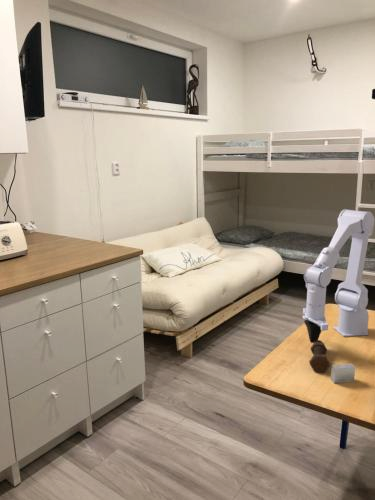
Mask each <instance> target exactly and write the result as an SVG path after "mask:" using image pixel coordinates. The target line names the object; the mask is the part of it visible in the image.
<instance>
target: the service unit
mask: <svg viewBox="0 0 375 500" xmlns="http://www.w3.org/2000/svg"><path fill="white" fill-rule="evenodd" d="M355 372H356V366H355V365H354V364H353V363H342V364H332V365H331V369H330V381H331V382H332V383H333V384H341V383H342V384H344V383H352V382H353V383H354V382H355V375H356V373H355Z"/></svg>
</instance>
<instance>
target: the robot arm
mask: <svg viewBox="0 0 375 500" xmlns="http://www.w3.org/2000/svg"><path fill="white" fill-rule="evenodd" d="M374 224H375V217H374V215H373V213H372V212H371V211H361V210H353V209H348V208H347V209H346V208H344V209H343V210H341V212H340V213H339V215H338V217H337V229H336V230H335V233H334V234H333V236H332V238H331V240H330V243H329V244H328V246H327V247H324V248H323V249H322V250H321V251H320V253H319V255H318V256H317V258H316V260H315V262H314V263H313V265H311V266H309V267H307V269H306V270H305V272H304V274H303V279H304V282H305V288H306V290H307V291H306V305H305V306H306V307H303V308H302V314H303V315H302V317H301V318H302V319H303V321H304V324H305V327H306V330H307V333H308V334H307V335H308V339H309V342H310V343H311V344H313V343H314V342H315V340H319V338H320V336H321V333H322V331H324V332H325V331H329V324H328V323H327V319H326V316H325V311H326V298H327V295H326V294H327V286H329V284H330V283H331V280H332V275H333V269H334V268H335V265H336V264H337V262H338V260H339V259H340V258H341V257H340V253H339V252H340V250H341V249H342V248H343V246H344V245H345V243H346V242H347V241H348V239H349V238H350V236H351V245H350V251H349V257H348V264H347V269H346V270H347V271H346V275H345V281H342V282H340V283H339V284H338V285H337V289H336V292H335V293H334V301H335V303H336V304H337V307H338V308H339V312H338V323H337V324H338V325H334V326H332V327H333V329H334V330H335V331H337V332H338V333H339V334H340V335H341V336H343V337H353V336H355V337H357V336H366V335H367V336H368V335H369V332H368V331H369V330H368V329H369V318H370V317H369V312H368V310H367V309H366V308H367V306H368V303H369V298H368V297H369V296H368V293H369V290H368V288H366V286H365V285H364V284H363V283H362V281H363V280H362V279H363V273H364V268H365V263H366V262H365V261H366V255H367V250H368V243H369V239H370V237H371V236H372V235H373V231H374V227H375V225H374Z"/></svg>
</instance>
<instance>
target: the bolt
mask: <svg viewBox="0 0 375 500" xmlns="http://www.w3.org/2000/svg"><path fill="white" fill-rule="evenodd" d="M310 351H311V353H312V354H313V356H312V357H311V358H310V359H309V365H310V367H311V369H312V370H313V372H316V373H326V371H328V369H329V368H330V366H331V363H330V361H329V360H328V358H327V356H326V353H327V352H328V349H327V347H326V345H325V343H324V342H323V341H321V340H319V339H318V340H315V342H314V343H312V345H311V346H310Z"/></svg>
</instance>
